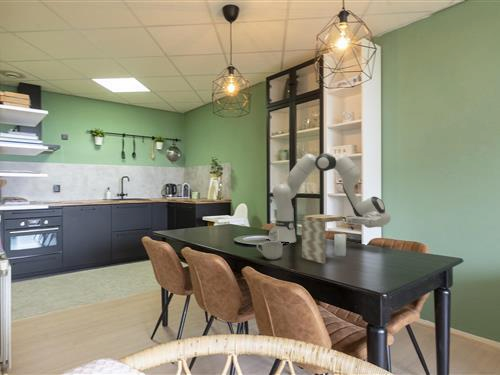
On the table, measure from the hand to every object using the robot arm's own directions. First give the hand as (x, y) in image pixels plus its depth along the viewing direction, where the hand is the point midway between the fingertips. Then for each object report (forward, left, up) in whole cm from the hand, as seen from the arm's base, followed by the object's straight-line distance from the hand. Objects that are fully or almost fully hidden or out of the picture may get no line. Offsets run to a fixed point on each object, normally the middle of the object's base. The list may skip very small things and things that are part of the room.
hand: (354, 222), depth 172 cm
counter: (0, -26, -17) cm, 31 cm away
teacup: (-17, -47, -17) cm, 53 cm away
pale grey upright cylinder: (0, -12, -17) cm, 21 cm away
